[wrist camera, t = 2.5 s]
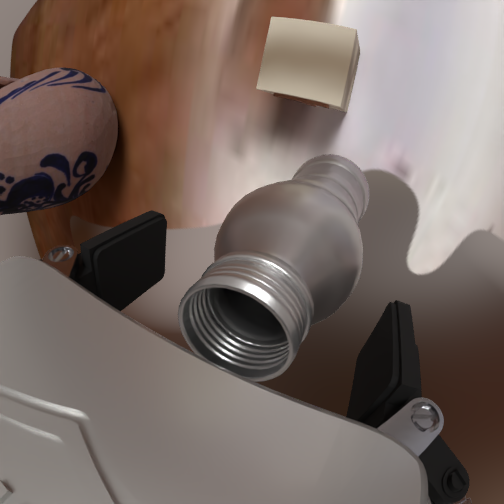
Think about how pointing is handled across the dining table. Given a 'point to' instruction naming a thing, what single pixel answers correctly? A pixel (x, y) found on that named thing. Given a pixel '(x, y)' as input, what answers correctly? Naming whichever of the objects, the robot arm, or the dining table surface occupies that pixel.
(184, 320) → the silver metal bottle
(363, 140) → the dining table surface
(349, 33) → the beige cube
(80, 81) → the ceramic pitcher
